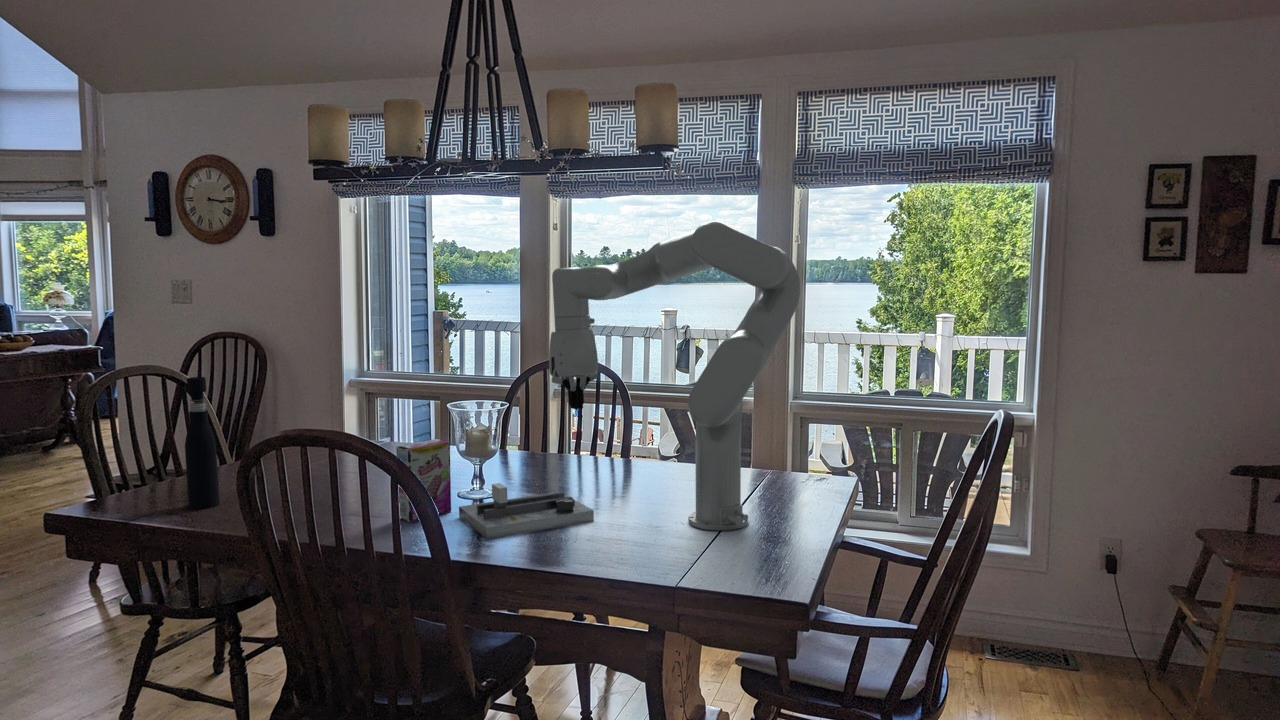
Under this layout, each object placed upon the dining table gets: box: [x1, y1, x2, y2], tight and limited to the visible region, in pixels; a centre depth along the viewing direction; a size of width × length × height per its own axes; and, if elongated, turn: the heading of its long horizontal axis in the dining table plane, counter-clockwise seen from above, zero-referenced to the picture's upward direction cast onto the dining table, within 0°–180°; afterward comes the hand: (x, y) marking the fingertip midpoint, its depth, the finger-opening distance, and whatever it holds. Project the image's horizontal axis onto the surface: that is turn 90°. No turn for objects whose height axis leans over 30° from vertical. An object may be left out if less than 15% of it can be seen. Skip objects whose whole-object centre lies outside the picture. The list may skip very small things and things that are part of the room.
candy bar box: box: [396, 438, 452, 524], centre depth 188 cm, size 11×5×16 cm, turn 141°
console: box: [458, 491, 595, 540], centre depth 185 cm, size 18×24×5 cm
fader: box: [491, 482, 508, 508], centre depth 182 cm, size 4×2×6 cm, turn 30°
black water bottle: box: [184, 376, 220, 510], centre depth 197 cm, size 6×6×30 cm
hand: (576, 408), depth 186 cm, fingers closed
